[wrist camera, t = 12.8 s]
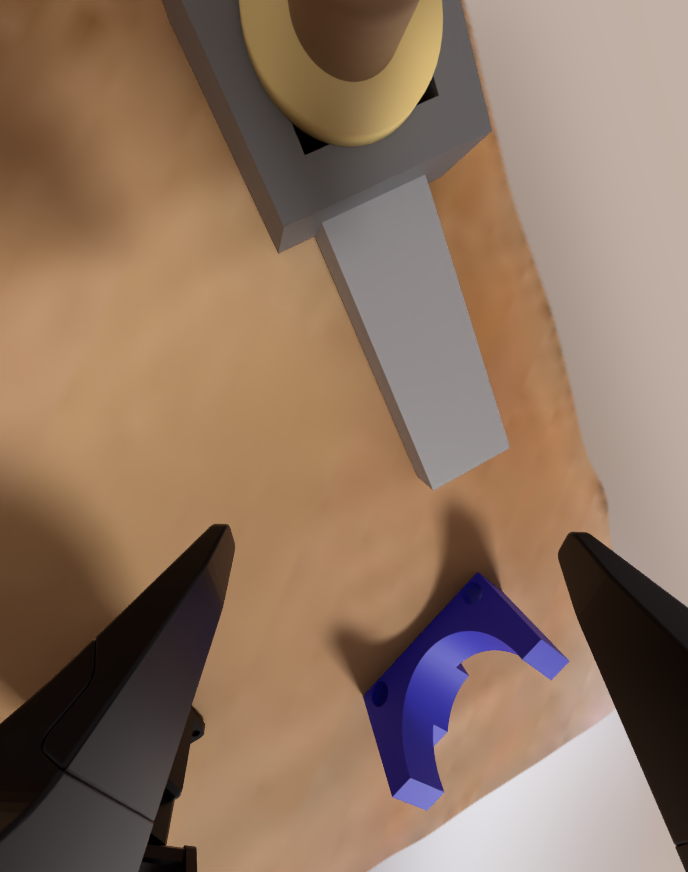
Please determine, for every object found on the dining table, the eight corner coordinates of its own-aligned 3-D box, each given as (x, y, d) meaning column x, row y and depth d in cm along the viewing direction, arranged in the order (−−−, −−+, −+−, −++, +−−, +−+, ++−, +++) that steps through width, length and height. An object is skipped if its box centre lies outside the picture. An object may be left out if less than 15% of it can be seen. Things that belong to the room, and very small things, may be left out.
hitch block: (390, 492, 21) (419, 525, 17) (168, 18, 13) (132, -109, 10) (514, 424, 22) (567, 441, 18) (369, -62, 14) (409, -208, 10)
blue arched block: (404, 715, 26) (443, 816, 21) (362, 693, 25) (392, 797, 19) (512, 599, 26) (582, 671, 20) (476, 570, 24) (541, 639, 19)
